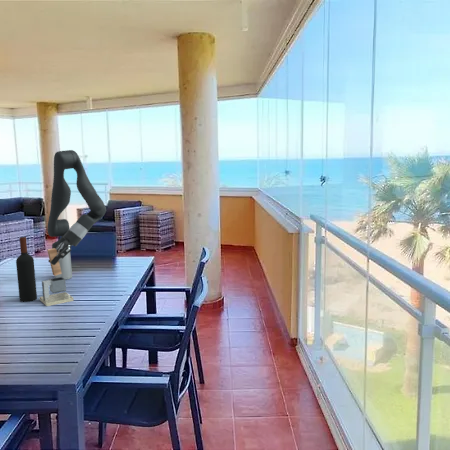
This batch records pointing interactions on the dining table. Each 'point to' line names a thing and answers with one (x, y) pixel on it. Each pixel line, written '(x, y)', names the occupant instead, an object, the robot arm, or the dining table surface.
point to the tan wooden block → (56, 268)
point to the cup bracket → (55, 287)
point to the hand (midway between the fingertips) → (51, 263)
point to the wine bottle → (26, 274)
